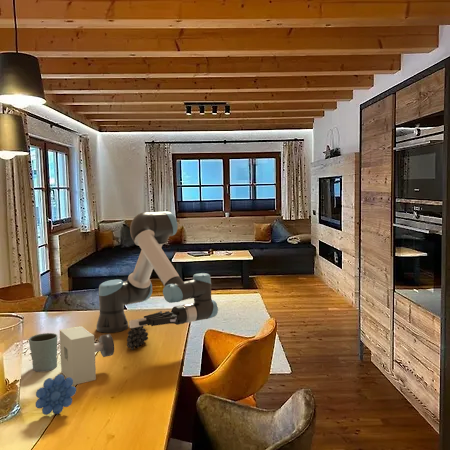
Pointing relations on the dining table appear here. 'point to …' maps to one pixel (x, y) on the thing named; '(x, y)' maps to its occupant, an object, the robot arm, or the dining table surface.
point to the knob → (105, 345)
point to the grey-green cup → (43, 351)
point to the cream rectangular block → (77, 354)
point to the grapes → (55, 394)
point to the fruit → (136, 337)
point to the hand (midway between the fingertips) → (130, 324)
